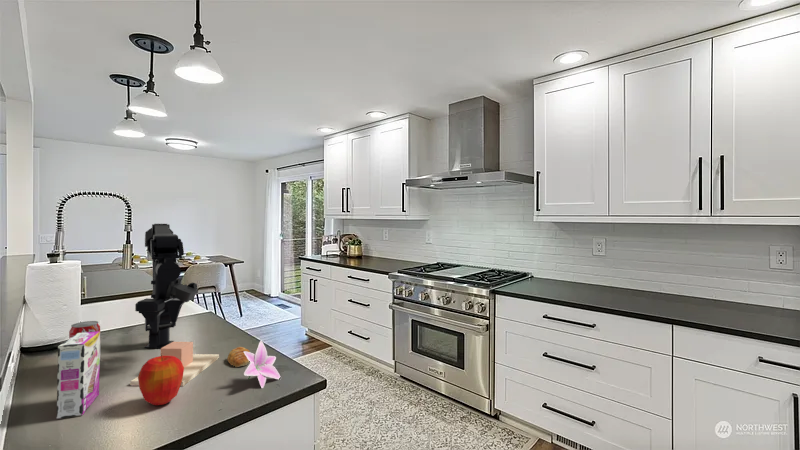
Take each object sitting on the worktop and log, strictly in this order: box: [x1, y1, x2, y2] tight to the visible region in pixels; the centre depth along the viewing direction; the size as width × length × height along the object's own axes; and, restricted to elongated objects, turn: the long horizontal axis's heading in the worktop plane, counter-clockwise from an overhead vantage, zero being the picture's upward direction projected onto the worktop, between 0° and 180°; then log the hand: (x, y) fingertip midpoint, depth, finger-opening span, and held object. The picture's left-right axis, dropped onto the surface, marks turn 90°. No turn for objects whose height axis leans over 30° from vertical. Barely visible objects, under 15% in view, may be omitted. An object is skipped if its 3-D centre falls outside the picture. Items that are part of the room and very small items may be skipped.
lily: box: [243, 340, 281, 389], centre depth 103 cm, size 12×12×10 cm
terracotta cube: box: [160, 341, 194, 367], centre depth 110 cm, size 6×6×6 cm
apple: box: [137, 353, 184, 406], centre depth 90 cm, size 9×9×12 cm
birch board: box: [129, 353, 220, 387], centre depth 109 cm, size 20×14×1 cm
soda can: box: [68, 320, 102, 361], centre depth 111 cm, size 7×7×13 cm
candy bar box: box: [56, 330, 101, 420], centre depth 88 cm, size 11×5×16 cm, turn 23°
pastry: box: [227, 346, 251, 368], centre depth 116 cm, size 9×7×4 cm
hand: (165, 327), depth 113 cm, fingers open, 9 cm apart
